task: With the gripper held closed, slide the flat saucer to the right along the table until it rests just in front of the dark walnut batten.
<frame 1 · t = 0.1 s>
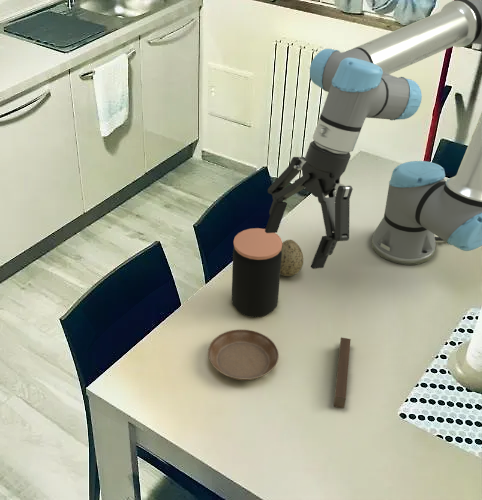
hand: (292, 249, 139), 28 cm above the table, tool tilted 20°, fingers open, 13 cm apart
walnut batten: (341, 376, 149), on the table
coffee jar: (254, 304, 169), on the table
decorative egg: (287, 274, 177), on the table
saucer: (242, 362, 154), on the table
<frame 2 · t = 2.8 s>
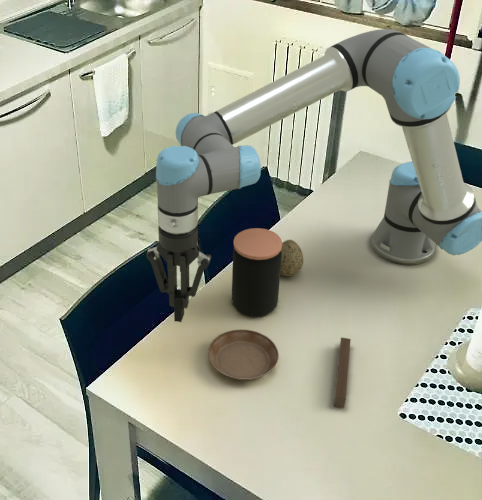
hand: (179, 317, 151), 10 cm above the table, tool pointing down, fingers closed
nothing on the table moved.
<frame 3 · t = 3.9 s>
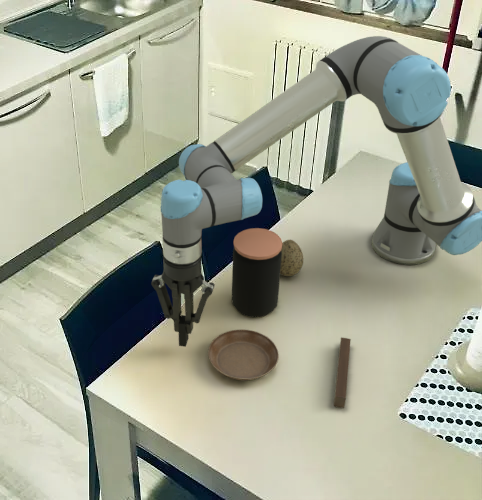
hand: (183, 342, 155), 3 cm above the table, tool pointing down, fingers closed
nothing on the table moved.
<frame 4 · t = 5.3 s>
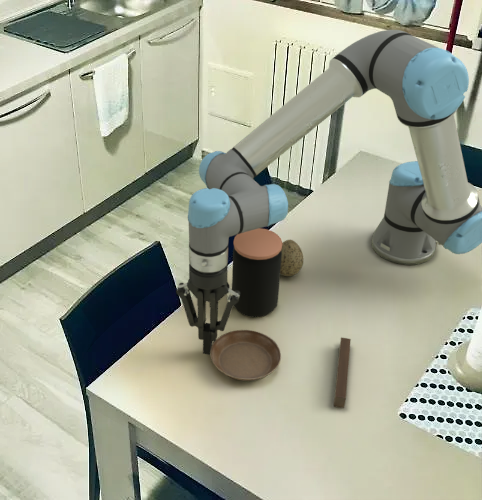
hand: (207, 349, 155), 2 cm above the table, tool pointing down, fingers closed
saucer: (244, 362, 154), on the table, touching gripper
everything else where it was.
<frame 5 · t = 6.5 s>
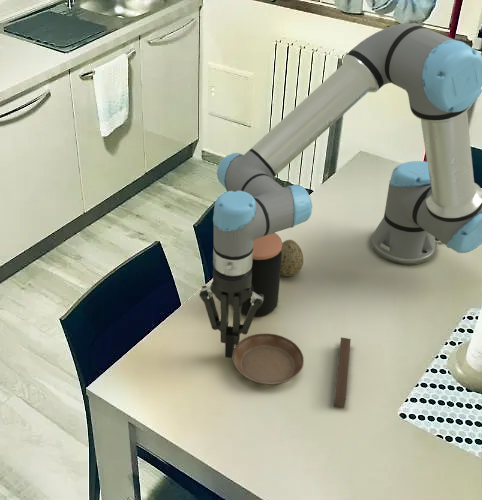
hand: (229, 353, 153), 2 cm above the table, tool pointing down, fingers closed
saucer: (267, 366, 153), on the table, touching gripper
everything else where it was.
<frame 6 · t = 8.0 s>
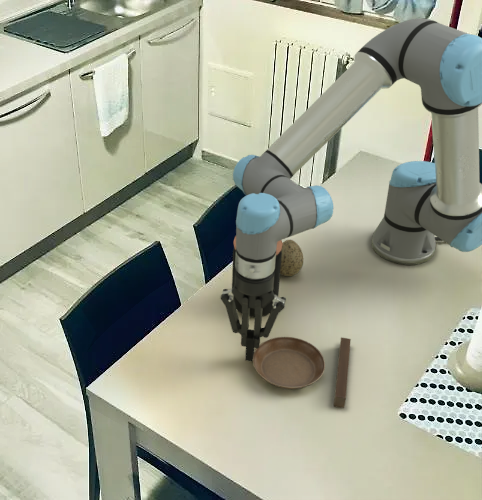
hand: (249, 356, 152), 2 cm above the table, tool pointing down, fingers closed
saucer: (287, 370, 151), on the table, touching gripper
everything else where it was.
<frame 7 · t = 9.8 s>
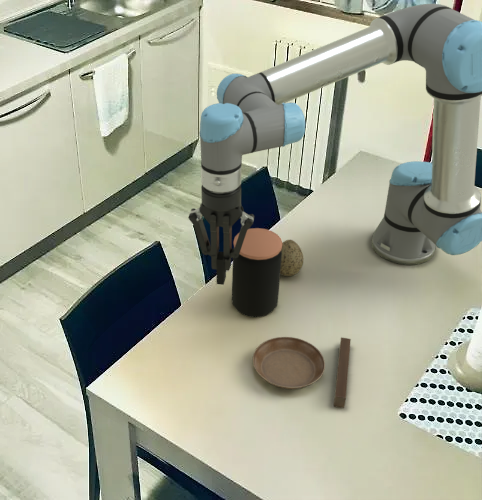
hand: (221, 280, 151), 16 cm above the table, tool pointing down, fingers closed
saucer: (287, 370, 151), on the table
everything else where it was.
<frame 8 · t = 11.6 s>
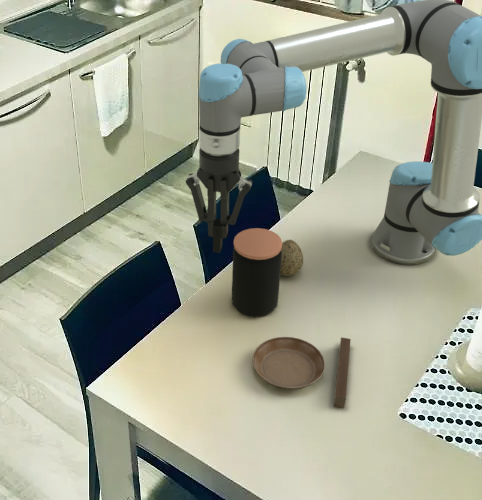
hand: (217, 248, 149), 22 cm above the table, tool pointing down, fingers closed
nothing on the table moved.
at the end: saucer inside the target area (0.5 cm from its centre), on the table; saucer moved 9.5 cm from its start; saucer tilted 0° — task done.
